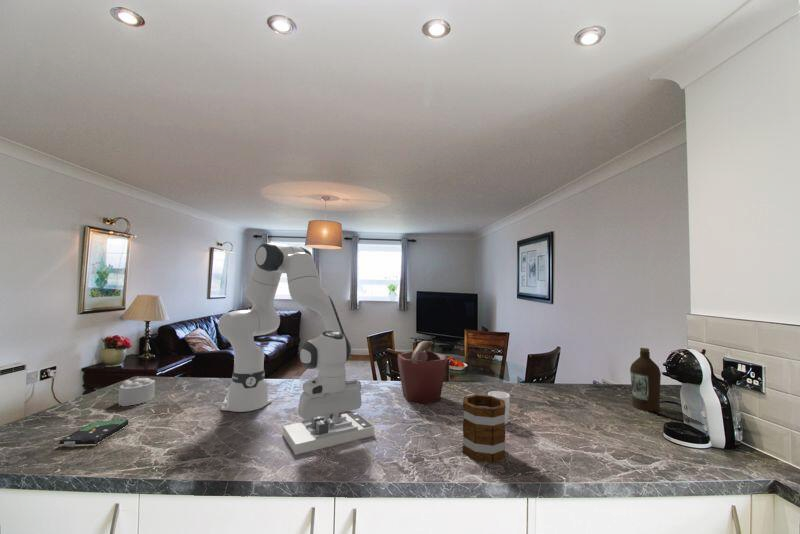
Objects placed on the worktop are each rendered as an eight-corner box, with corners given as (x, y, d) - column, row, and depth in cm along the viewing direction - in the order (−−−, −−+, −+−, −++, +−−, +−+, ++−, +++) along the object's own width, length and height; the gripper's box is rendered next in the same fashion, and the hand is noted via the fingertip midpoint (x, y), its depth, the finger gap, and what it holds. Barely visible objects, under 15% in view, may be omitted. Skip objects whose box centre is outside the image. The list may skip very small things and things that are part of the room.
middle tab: (311, 426, 111) (311, 416, 111) (320, 425, 113) (320, 414, 113) (314, 430, 108) (314, 419, 109) (323, 428, 110) (323, 417, 110)
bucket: (417, 387, 168) (418, 336, 169) (458, 396, 155) (459, 341, 157) (387, 400, 148) (388, 342, 150) (431, 411, 135) (432, 348, 137)
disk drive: (96, 448, 102) (128, 427, 117) (97, 438, 103) (129, 418, 117) (57, 449, 101) (95, 428, 116) (58, 440, 101) (95, 419, 116)
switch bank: (283, 435, 112) (283, 422, 112) (355, 419, 126) (355, 408, 126) (295, 454, 99) (295, 440, 99) (374, 435, 113) (374, 423, 113)
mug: (515, 461, 98) (515, 408, 99) (470, 464, 96) (470, 410, 97) (487, 432, 117) (487, 388, 118) (449, 434, 115) (450, 389, 116)
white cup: (511, 419, 129) (511, 392, 129) (508, 427, 122) (508, 399, 122) (489, 416, 132) (490, 389, 133) (486, 423, 125) (486, 395, 126)
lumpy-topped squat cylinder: (157, 396, 148) (158, 376, 148) (138, 406, 135) (140, 384, 136) (131, 396, 147) (133, 376, 147) (110, 407, 134) (111, 385, 134)
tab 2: (329, 417, 120) (329, 406, 120) (337, 415, 121) (337, 405, 121) (332, 420, 117) (332, 409, 117) (340, 418, 119) (341, 408, 119)
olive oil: (640, 402, 152) (639, 345, 153) (667, 410, 142) (665, 349, 143) (625, 405, 148) (624, 346, 149) (651, 413, 138) (649, 351, 139)
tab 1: (315, 432, 107) (316, 421, 107) (324, 430, 108) (325, 419, 108) (318, 436, 104) (319, 424, 104) (328, 434, 106) (328, 422, 106)
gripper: (357, 376, 117) (356, 417, 116) (297, 385, 106) (296, 430, 105) (365, 381, 112) (364, 424, 111) (303, 390, 101) (302, 438, 100)
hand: (330, 427), depth 108 cm, fingers closed
